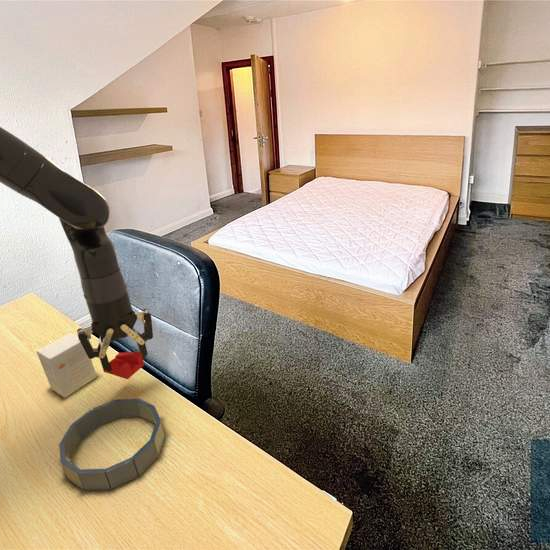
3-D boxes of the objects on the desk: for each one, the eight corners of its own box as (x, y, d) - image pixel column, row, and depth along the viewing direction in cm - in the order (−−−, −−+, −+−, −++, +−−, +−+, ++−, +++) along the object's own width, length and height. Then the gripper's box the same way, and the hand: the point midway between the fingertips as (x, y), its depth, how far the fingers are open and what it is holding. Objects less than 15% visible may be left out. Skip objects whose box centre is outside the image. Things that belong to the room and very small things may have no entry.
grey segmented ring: (70, 508, 64) (63, 491, 62) (63, 437, 77) (57, 421, 75) (174, 460, 71) (170, 443, 69) (151, 402, 84) (147, 387, 82)
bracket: (144, 365, 85) (141, 353, 84) (127, 379, 81) (124, 367, 80) (121, 358, 88) (117, 346, 86) (103, 371, 84) (100, 359, 82)
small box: (83, 369, 95) (71, 331, 91) (97, 377, 92) (85, 338, 88) (50, 389, 90) (35, 350, 85) (64, 399, 87) (49, 358, 82)
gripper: (140, 275, 83) (156, 343, 90) (63, 295, 77) (87, 366, 84) (149, 289, 77) (165, 360, 84) (66, 312, 71) (91, 387, 78)
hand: (126, 363), depth 84 cm, fingers closed on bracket, 6 cm apart
